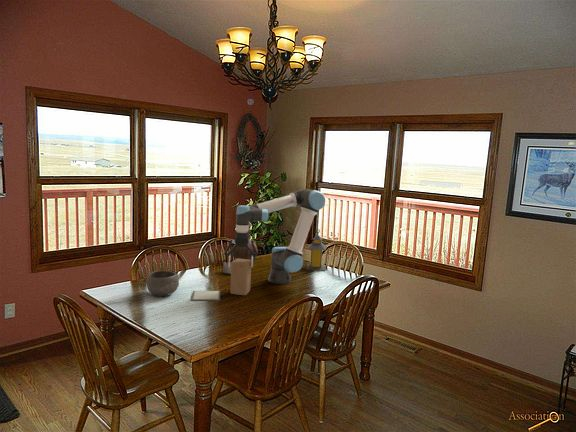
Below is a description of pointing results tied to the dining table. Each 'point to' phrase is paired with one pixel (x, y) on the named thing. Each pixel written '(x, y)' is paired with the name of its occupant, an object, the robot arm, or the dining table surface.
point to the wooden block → (240, 276)
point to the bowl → (162, 282)
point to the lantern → (316, 254)
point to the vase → (244, 250)
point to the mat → (206, 296)
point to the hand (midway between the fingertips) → (240, 266)
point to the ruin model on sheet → (226, 268)
